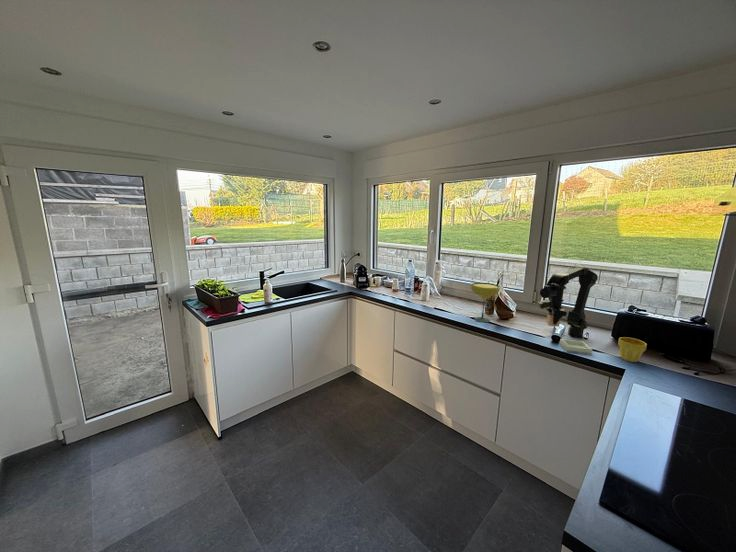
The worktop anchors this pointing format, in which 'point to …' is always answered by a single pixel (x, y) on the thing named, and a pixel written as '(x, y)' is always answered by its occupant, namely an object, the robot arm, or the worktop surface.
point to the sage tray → (575, 346)
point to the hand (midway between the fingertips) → (552, 323)
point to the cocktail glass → (484, 295)
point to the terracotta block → (551, 321)
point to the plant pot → (631, 348)
